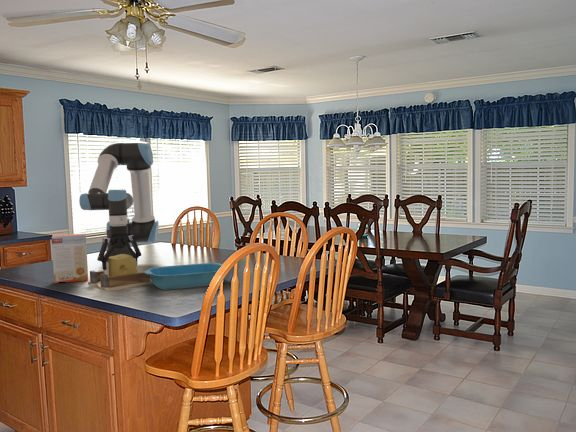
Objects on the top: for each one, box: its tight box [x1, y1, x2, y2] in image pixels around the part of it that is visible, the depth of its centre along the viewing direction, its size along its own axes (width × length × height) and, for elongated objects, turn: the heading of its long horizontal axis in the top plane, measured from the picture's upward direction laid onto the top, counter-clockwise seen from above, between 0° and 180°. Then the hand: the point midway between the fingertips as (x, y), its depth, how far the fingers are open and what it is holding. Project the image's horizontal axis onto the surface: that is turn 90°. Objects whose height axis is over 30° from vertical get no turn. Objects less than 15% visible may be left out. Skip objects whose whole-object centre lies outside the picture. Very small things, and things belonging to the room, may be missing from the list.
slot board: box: [87, 270, 153, 292], centre depth 227 cm, size 20×28×6 cm
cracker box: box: [51, 233, 89, 284], centre depth 230 cm, size 14×6×21 cm, turn 110°
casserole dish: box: [144, 262, 228, 291], centre depth 222 cm, size 37×22×7 cm, turn 115°
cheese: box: [102, 254, 139, 278], centre depth 224 cm, size 10×11×10 cm
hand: (120, 274), depth 224 cm, fingers closed on cheese, 12 cm apart
